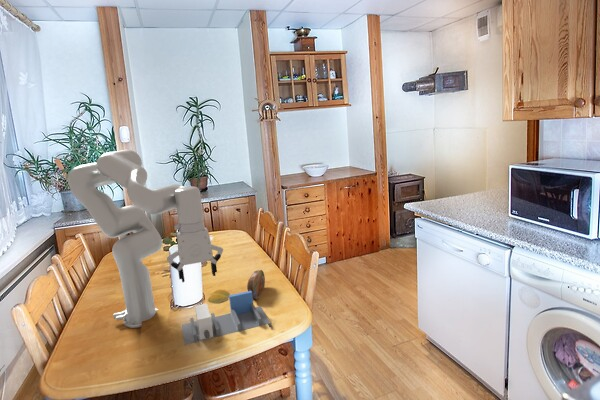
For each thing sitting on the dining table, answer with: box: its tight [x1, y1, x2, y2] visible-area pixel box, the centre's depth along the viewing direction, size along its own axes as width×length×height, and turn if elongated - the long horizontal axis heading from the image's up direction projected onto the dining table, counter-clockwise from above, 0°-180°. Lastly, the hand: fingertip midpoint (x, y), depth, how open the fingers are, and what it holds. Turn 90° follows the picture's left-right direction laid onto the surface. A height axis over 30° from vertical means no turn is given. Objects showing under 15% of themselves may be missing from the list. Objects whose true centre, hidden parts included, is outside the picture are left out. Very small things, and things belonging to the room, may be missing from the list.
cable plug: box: [194, 302, 213, 341], centre depth 127 cm, size 4×14×7 cm, turn 20°
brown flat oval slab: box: [246, 269, 266, 300], centre depth 156 cm, size 15×3×8 cm, turn 168°
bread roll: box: [207, 289, 231, 304], centre depth 152 cm, size 8×9×4 cm
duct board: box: [181, 290, 272, 346], centre depth 132 cm, size 28×13×8 cm, turn 110°
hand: (198, 277), depth 126 cm, fingers open, 9 cm apart
